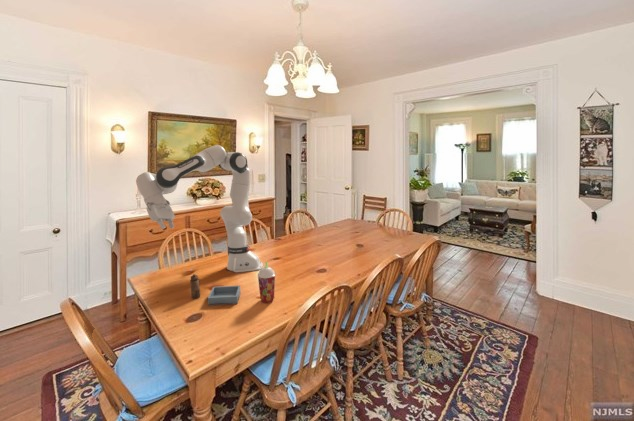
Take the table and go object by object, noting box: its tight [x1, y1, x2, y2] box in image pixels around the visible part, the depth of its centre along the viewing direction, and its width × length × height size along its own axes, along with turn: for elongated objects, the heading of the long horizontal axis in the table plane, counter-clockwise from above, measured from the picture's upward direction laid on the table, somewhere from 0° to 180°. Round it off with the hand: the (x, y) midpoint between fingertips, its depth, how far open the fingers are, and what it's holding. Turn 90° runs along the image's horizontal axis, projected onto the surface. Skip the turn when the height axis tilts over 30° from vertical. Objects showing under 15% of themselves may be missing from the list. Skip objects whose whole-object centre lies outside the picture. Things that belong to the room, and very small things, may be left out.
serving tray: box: [207, 285, 242, 306], centre depth 156 cm, size 14×13×4 cm
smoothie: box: [257, 261, 276, 304], centre depth 152 cm, size 8×8×20 cm
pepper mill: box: [189, 274, 201, 300], centre depth 157 cm, size 4×4×12 cm
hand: (168, 228), depth 157 cm, fingers open, 8 cm apart
